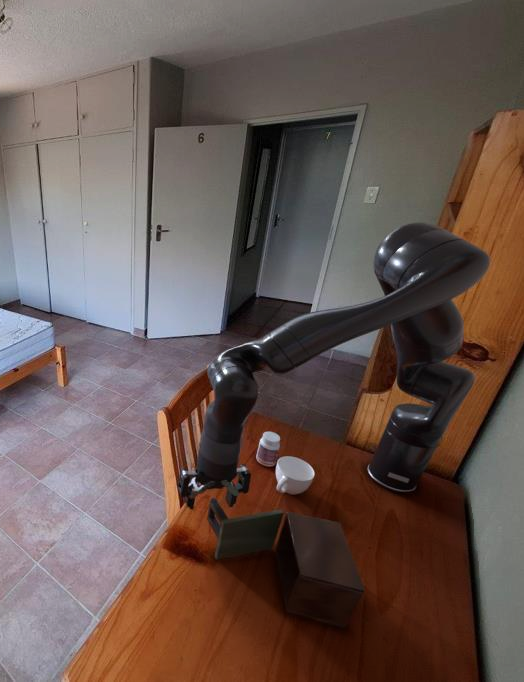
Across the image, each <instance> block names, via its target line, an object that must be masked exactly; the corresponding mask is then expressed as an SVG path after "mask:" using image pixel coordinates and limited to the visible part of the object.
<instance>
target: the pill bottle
mask: <svg viewBox="0 0 524 682" xmlns="http://www.w3.org/2000/svg"><path fill="white" fill-rule="evenodd" d="M280 449H281V437H280V435H279V434H277V433H276V432H273V431H265V432H263V433H262V437H261V438H260V439H259V443H258V446H257V452H256V456H255V459H256V461H257V462H258V463H259V464H260V465H263V466H265V467H274V466H276V464H277V461H278V455H279V452H280Z"/></svg>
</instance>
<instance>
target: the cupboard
mask: <svg viewBox="0 0 524 682" xmlns="http://www.w3.org/2000/svg"><path fill="white" fill-rule="evenodd" d="M280 527H281V528H280V530H279V533H278V537H277V540H276V542H275V546H274V552H275V557H276V562H277V568H278V574H279V580H280V585H281V590H282V596H283V601H284V607H285V613H288V614H291V615H294V616H298V617H302V618H305V619H309V620H312V621H314V622H317V623H322V624H325V625H329V626H332V627H336V628H340V629H343V630H345V629H346V627H347V625H348V623H349V622H350V619H351V618H352V616H353V614H354V612H355V611H356V609H357V607H358V605H359V603H360V601H361V599H362V597H363V596H364V594H365V592H366V589H365V587H364V583H363V581H362V578H361V576H360V573H359V569H358V568H357V564H356V561H355V559H354V557H353V553H352V551H351V548H350V546H349V543H348V539H347V538H346V534H345V532H344V529H343V527H342V524H341V522H338V521H334V520H329V519H324V518H320V517H315V516H311V515H307V514H300V513H297V512H291V511H286V513H285V515H284V518H283V521H282V525H281V526H280Z"/></svg>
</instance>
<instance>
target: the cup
mask: <svg viewBox="0 0 524 682" xmlns="http://www.w3.org/2000/svg"><path fill="white" fill-rule="evenodd" d="M315 473H316V472H315V470H314V469H313V467H312V466H311V464H309V463H308V462H306V461H305V460H303V459H301V458H299V457H295V456H292V455H291V456H290V455H285V456H281V457H280V458H278V459H277V461H276V464H275V478H276V482H277V485H276V491H277V492H279V494H285V493H287V495H292V496H293V495H295V496H297V495H300V494H302V493H305V491H307V490H308V489H309V488H310V486H311V485H312V483H313V481H314V478H315V475H316V474H315Z"/></svg>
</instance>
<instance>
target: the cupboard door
mask: <svg viewBox="0 0 524 682" xmlns="http://www.w3.org/2000/svg"><path fill="white" fill-rule="evenodd" d="M284 514H285V512H284V511H283V509H282V508H279V509H275V510H270V511H264V512H258V513H254V514H248V515H242V516H238V517H232V518H228V516H227V514H226V513H225V511H224V509H223V508H222V506H221V504H220V502H219V501H218V500H217V499H216V498H215V497H211V498H210V500H209V506H208V511H207V517H206V520H207V522H208V524H209V526H210V528H211V529H212V531H213V532H214V535H215V537H216V538H217V542H216V548H215V552H214V558H215V560H218V561H219V560H223V559H227V558H231V557H232V558H233V557H237V556H242V555H247V554H253V553H257V552H262V551H267V550H273V549H274V547H275V546H274V545H275V543H276V539H277V536H278V534H279V531H280V530H279V529H280V527H281V523H282V520H283V517H284Z"/></svg>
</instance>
